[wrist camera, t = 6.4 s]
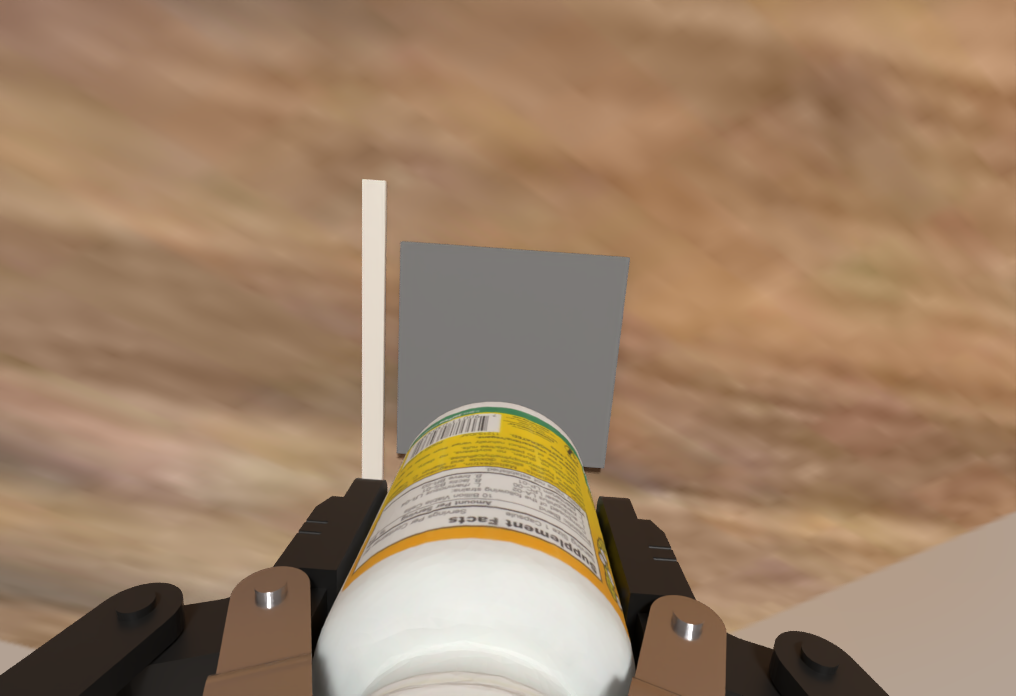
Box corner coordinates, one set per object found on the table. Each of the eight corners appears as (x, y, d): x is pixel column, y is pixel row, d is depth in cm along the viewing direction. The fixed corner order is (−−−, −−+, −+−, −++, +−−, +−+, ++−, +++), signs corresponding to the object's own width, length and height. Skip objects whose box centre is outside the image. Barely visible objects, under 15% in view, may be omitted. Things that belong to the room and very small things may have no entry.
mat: (403, 241, 27) (400, 241, 27) (627, 257, 27) (629, 257, 27) (399, 448, 30) (396, 453, 30) (602, 463, 30) (604, 468, 30)
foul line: (363, 179, 27) (362, 179, 26) (387, 181, 27) (385, 180, 26) (363, 521, 31) (361, 524, 31) (382, 523, 31) (381, 525, 31)
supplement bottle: (449, 364, 14) (313, 642, 5) (620, 447, 15) (801, 845, 5) (373, 520, 15) (145, 988, 6) (533, 591, 16) (555, 1127, 6)
